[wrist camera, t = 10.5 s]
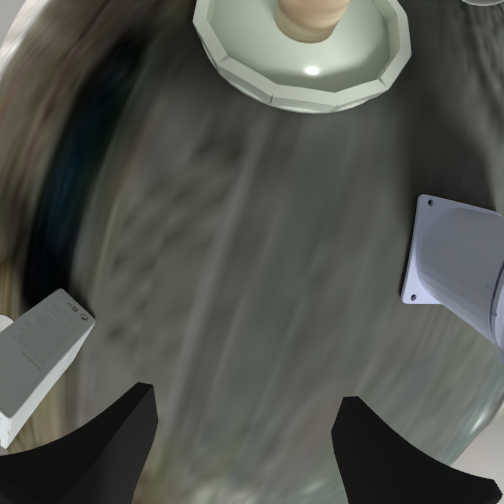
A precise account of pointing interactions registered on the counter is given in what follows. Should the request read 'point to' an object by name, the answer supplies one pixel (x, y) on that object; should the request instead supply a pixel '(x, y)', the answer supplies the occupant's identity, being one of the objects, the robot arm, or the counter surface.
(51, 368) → the skincare box
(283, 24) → the maple cylinder
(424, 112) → the counter surface
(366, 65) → the round tray
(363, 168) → the counter surface
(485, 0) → the ceramic mug
